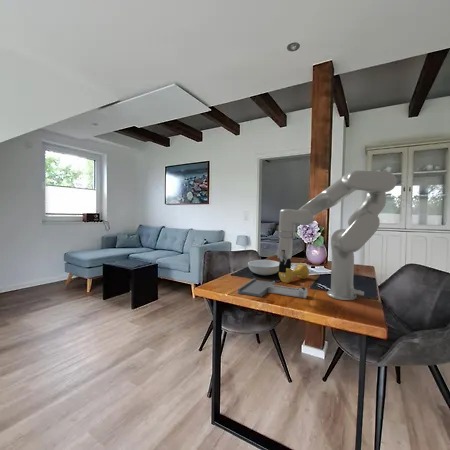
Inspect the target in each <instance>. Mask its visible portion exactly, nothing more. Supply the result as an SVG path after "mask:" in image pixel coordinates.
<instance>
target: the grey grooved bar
mask: <svg viewBox="0 0 450 450" xmlns="http://www.w3.org/2000/svg"><path fill="white" fill-rule="evenodd" d="M267 293H268V294H269V293H270V294H276V295H281V296H288V297H295V298H302V299H306V298H307V297H308V288H307V287H305V286H302V287H299V288H298V287H293V286H292V287H291V286H284V285H276V284H275V285H271V284H270V286H268V292H267Z"/></svg>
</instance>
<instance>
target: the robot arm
mask: <svg viewBox="0 0 450 450" xmlns="http://www.w3.org/2000/svg"><path fill="white" fill-rule="evenodd" d="M397 180H398V179H397V177H396V176H395V175H394V174H393V173H392V172H389V171H378V170H377V171H374V170H353V171H351V172H348V173H345V174H344V175H343V176H341V177H340V178H339V179H337V180H336V181H335V182H334V183H332V184H331V185H330V186H328V187H327V188H325V189H324V190H322V191H321V192H320V193H319V194H317V195H316V196H314V198H312V199H311V200H309V201H308V202H306V203H305V204H304V205H303V206H301V207H300V208H298V209H292V208H282V209H280V210H279V221H278V222H279V223H278V239H279V241H278V249H277V259H279V260H278V262H279V271H278V273H279V272H282V273H286V268H288V269H292V268H291V267H292V256H293V246H294V245H293V243H294V242H293V241H294V239H295V238H296V225H300V226H309V225H311V224H312V223H313V222H314V219H315V216H317V215H318V214H320V213H322V212H324V211H325V210H328V209H330V208H333V207H334V206H336V205H337V204H339V203H340V202H341V201H343V200H345V198H347V197H349V196H350V195H351V194H352V193H353V192H355V191H364V192H365V193H366V195H365V199H364V201H362V203H361V204H360V206H359V207H358V208H356V210H355V211H354V212H353V213H352V214H351V215H350V216H349V218H348V220H347V225H348V228H347V229H345V228H340V229H337V230H335V231H333V233H332V235H331V237H330V247H331V270H330V271H331V272H330V273H331V274H330V275H331V276H330V289H329V290H328V291H327V292H326V295H327V296H329V297H330V298H333V299H335V300H339V301H340V300H341V301H353V300H356V299H357V296H361V297H363V296H365V291H362V290H360V289H356V288H355V286H354V276H355V275H354V267H355V266H354V265H355V256H354V253H356V252H358V251H359V250H360V249H362V248H363V246H365V244H367V242H368V241H369V240H371V238H372V237H373V236H374V235H375V234H376V232H377V231H378V229H379V227H380V223H381V222H380V217H379V216H380V214H381V212H382V211H383V210H384V208H385V207H386V203H387V195H386V194H387V193H388V192H391V191H392V190H394V188H395V187H396V186H397V182H398V181H397Z"/></svg>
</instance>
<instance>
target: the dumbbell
mask: <svg viewBox="0 0 450 450" xmlns="http://www.w3.org/2000/svg"><path fill="white" fill-rule="evenodd" d="M309 275H310V270H309V267H308V265H307V264H302V263H300V264H297V265H296V267H295V268H294V270H292V268H290V269H288V268H286V273H282V272H279V271H278V277H279V279H280V281H281V282H283V283H286V284H289V283H291V282H292V281H293V279H294V277H297V278H299V279H304V280H305V279H307V278H308V277H309Z"/></svg>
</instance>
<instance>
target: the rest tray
mask: <svg viewBox="0 0 450 450" xmlns="http://www.w3.org/2000/svg"><path fill="white" fill-rule="evenodd" d="M270 284H271V285H276V281H275V280H272V281H266V280H257V279H256V278H255V277H254V278H252V279H251V280H249V281H248V282H246V283H245V284H243V285H242V286H240V287H239V288H238V289H237V293H238V294H240V295H247V296H253V297H259V298H262V297H264V296H265V295H266V294H267V293H268V286H270Z"/></svg>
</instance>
